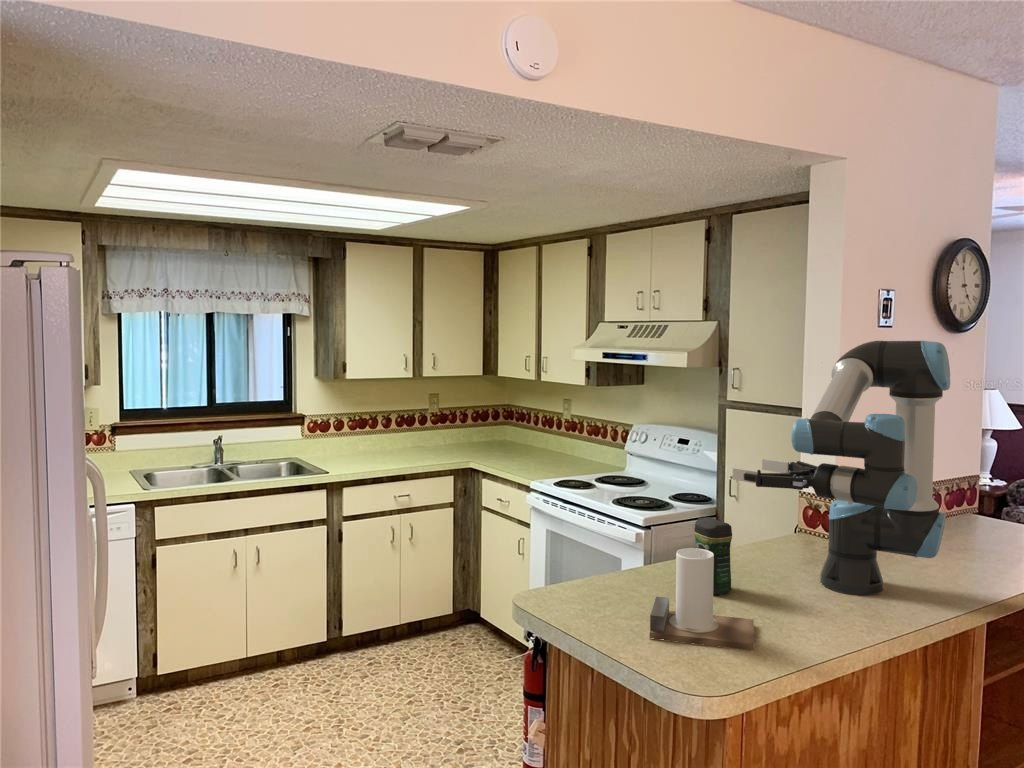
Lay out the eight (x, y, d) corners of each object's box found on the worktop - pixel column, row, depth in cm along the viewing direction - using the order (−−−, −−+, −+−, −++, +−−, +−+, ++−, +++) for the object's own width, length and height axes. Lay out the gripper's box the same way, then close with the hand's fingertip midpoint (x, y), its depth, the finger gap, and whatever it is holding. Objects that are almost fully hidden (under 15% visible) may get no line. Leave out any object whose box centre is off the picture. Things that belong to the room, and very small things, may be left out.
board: (753, 625, 177) (753, 604, 177) (753, 650, 164) (754, 627, 164) (656, 615, 184) (656, 595, 183) (649, 638, 170) (649, 616, 170)
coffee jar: (736, 593, 198) (738, 522, 197) (711, 597, 195) (712, 525, 194) (712, 581, 207) (713, 513, 206) (688, 585, 204) (689, 516, 203)
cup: (671, 615, 179) (672, 548, 178) (706, 614, 180) (707, 547, 178) (681, 630, 171) (682, 559, 170) (717, 628, 171) (719, 558, 170)
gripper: (810, 510, 160) (720, 493, 175) (860, 489, 177) (774, 475, 192) (811, 475, 159) (720, 461, 174) (861, 456, 176) (774, 445, 192)
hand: (748, 468), depth 183 cm, fingers open, 13 cm apart
